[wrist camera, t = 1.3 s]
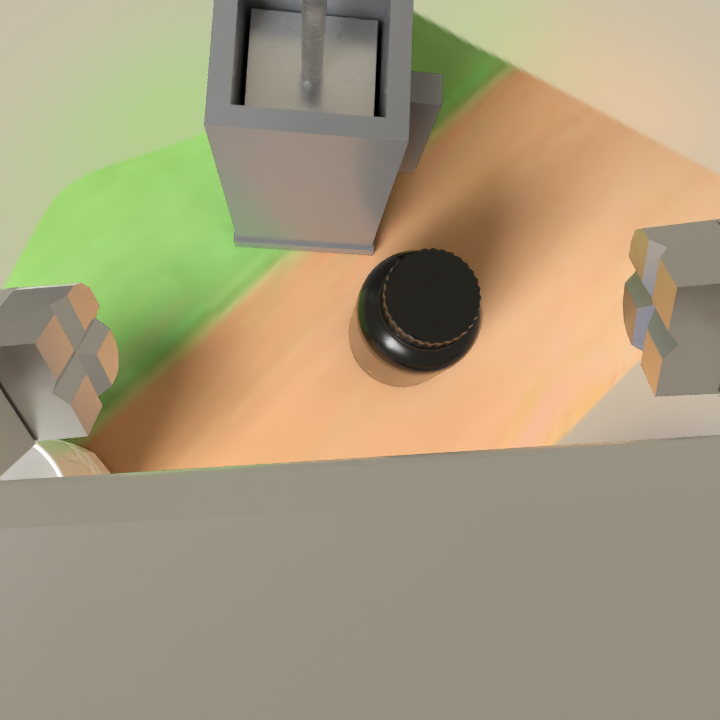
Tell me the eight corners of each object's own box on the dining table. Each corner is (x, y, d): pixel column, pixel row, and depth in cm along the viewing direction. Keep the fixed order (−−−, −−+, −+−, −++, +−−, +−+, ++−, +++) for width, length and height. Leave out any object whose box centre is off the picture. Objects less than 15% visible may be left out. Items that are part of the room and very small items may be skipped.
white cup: (23, 589, 39) (-69, 635, 30) (-31, 470, 40) (-139, 476, 30) (147, 525, 41) (98, 549, 31) (92, 410, 41) (26, 398, 31)
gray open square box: (235, 246, 43) (198, 128, 28) (244, 116, 45) (214, -67, 29) (398, 257, 44) (454, 149, 28) (403, 130, 46) (459, -40, 30)
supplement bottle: (389, 265, 44) (423, 197, 32) (470, 329, 44) (533, 285, 32) (325, 344, 43) (334, 304, 31) (407, 410, 43) (448, 394, 31)
